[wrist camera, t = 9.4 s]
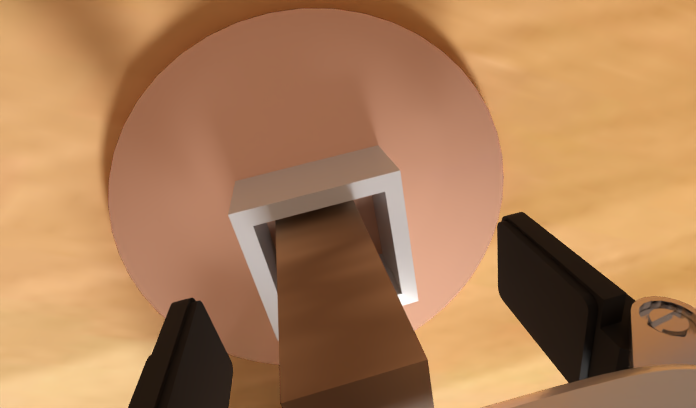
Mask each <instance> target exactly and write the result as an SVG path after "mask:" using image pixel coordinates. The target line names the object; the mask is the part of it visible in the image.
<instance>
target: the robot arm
mask: <svg viewBox="0 0 696 408" xmlns="http://www.w3.org/2000/svg"><path fill="white" fill-rule="evenodd" d="M497 238H498V290H499V294H500V296H501V298H502V300H503V301H504V302H505V304H506V305H507V306H508V307H509V309H510V310H511V311H512V312H513V314H514V315H515V316H516V317H517V319H518V320H519V321H520V322H521V324H522V325H523V326H524V327H525V329H526V330H527V331H528V332H529V334H530V335H531V336H532V337H533V339H534V340H535V341H536V342H537V344H538V345H539V346H540V347H541V349H542V350H543V351H544V352H545V354H546V355H547V356H548V357H549V359H550V360H551V361H552V362H553V364H554V365H555V366H556V367H557V369H558V370H559V371H560V372H561V374H562V375H563V376H564V377H565V379H566V380H567V381H568V382H569V383H568V384H564V385H560V386H556V387H553V388H549V389H545V390H542V391H538V392H535V393H531V394H528V395H524V396H521V397H517V398H514V399H510V400H506V401H503V402H499V403H496V404H492V405H489V406H485V407H482V408H696V309H695V308H694V307H692V306H690V305H688V304H686V303H683V302H681V301H679V300H675V299H671V298H667V297H658V296H651V297H644V298H641V299H638V300H636V301H635V300H634V299H633V298H631V297H630V296H629V295H627V293H626V292H624V291H623V290H622V289H620V288H619V287H618V286H617V285H615V284H614V283H613V282H612V281H610V280H609V279H608V278H606V277H605V276H604V275H603V274H601V273H600V272H599V271H597V270H596V269H595V268H594V267H592V266H591V265H590V264H589V263H587V262H586V261H585V260H583V259H582V258H581V257H580V256H578V255H577V254H576V253H575V252H573V251H572V250H571V249H569V248H568V247H567V246H566V245H564V244H563V243H562V242H561V241H559V240H558V239H557V238H555V237H554V236H553V235H552V234H550V233H549V232H548V231H547V230H545V229H544V228H543V227H541V226H540V225H539V224H538V223H536V222H535V221H534V220H533V219H531V218H530V217H529V216H527V215H526V214H525V213H523V212H519V213H515V214H511V215H507V216H504V217H503V218H502V222H499V223H498V226H497ZM232 376H233V367H232V362H231V360H230V358H229V356H228V354H227V352H226V350H225V348H224V346H223V343H222V341H221V339H220V337H219V335H218V333H217V331H216V329H215V327H214V325H213V323H212V321H211V319H210V317H209V315H208V313H207V311H206V309H205V307H204V305H203V303H202V302H201V301H196V300H195V299H194V298H188V299H184V300H180V301H176V302H173V303H172V304H171V306H170V308H169V311H168V313H167V316H166V319H165V321H164V324H163V326H162V329H161V332H160V334H159V337H158V339H157V342H156V345H155V347H154V350H153V353H152V355H150V356H149V357H148V359H147V361H146V363H145V366H144V368H143V371H142V373H141V376H140V379H139V381H138V384H137V386H136V389H135V391H134V394H133V396H132V399H131V402H130V404H129V407H128V408H228V406H229V399H230V391H231V384H232Z"/></svg>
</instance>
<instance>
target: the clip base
mask: <svg viewBox="0 0 696 408" xmlns="http://www.w3.org/2000/svg"><path fill="white" fill-rule="evenodd" d="M503 179H504V176H503V162H502V153H501V148H500V143H499V139H498V134H497V131H496V128H495V126H494V123H493V120H492V118H491V115H490V112H489V110H488V108H487V106H486V105H485V103H484V101H483V99H482V97H481V96H480V94H479V92H478V90H477V89H476V87H475V86H474V85H473V84H472V82H471V81H470V80H469V78H468V77H467V76H466V75H465V73H464V72H463V71H462V69H461V68H459V67H458V66H457V65H456V64H455V63H454V62H453V61H452V60H451V59H450V58H449V57H448V56H447V55H446V54H445V53H444V52H443V51H441V50H440V49H438V48H437V47H436V46H434V45H433V44H431V43H430V42H428V41H427V40H425V39H424V38H423V37H421V36H420V35H418V34H416V33H414V32H412V31H410V30H408V29H405V28H403V27H401V26H399V25H397V24H395V23H393V22H390V21H387V20H384V19H380V18H377V17H374V16H371V15H368V14H364V13H358V12H352V11H345V10H339V9H311V8H301V9H294V10H287V11H280V12H273V13H267V14H264V15H261V16H257V17H254V18H250V19H247V20H244V21H240V22H237V23H235V24H233V25H231V26H228V27H226V28H224V29H222V30H220V31H218V32H216V33H214V34H211V35H209V36H207V37H206V38H204V39H203V40H201V41H200V42H198V43H197V44H195V45H194V46H192V47H191V48H189V49H188V50H186V51H185V52H183V53H182V54H180V55H179V56H178V57H177V58H176V59H175V60H174V61H173V62H172V63H171V64H169V65H168V66H167V67H166V68H165V69H164V70H163V71H162V72H161V73H160V74H159V75H157V77H156V78H155V79H154V80H153V82H152V83H151V84H150V85H149V87H148V88H147V89H146V90H145V92H144V93H143V94H142V96H141V97H140V98H139V99H138V101H137V103H136V104H135V106H134V108H133V110H132V112H131V113H130V115H129V117H128V119H127V120H126V122H125V124H124V126H123V129H122V131H121V134H120V137H119V140H118V142H117V145H116V148H115V151H114V154H113V160H112V165H111V171H110V176H109V199H108V207H109V214H110V221H111V228H112V233H113V236H114V239H115V242H116V246H117V249H118V252H119V255H120V257H121V259H122V261H123V263H124V265H125V267H126V269H127V271H128V273H129V275H130V277H131V279H132V280H133V281H134V283H135V284H136V286H137V287H138V289H139V290H140V292H141V293H142V295H143V296H144V297H145V298H146V299H147V300H148V301H149V303H150V304H151V305H152V306H153V307H154V308H155V309H156V310H157V311H158V312H159V313H160V314H161V315H162V316H163V317H164V318H166V316H167V313H168V311H169V308H170V306H171V304H172V303H173V302H176V301H180V300H184V299H188V298H194V299H195V300H196V301H201V302H202V303H203V305H204V307H205V309H206V311H207V313H208V315H209V317H210V319H211V321H212V323H213V325H214V327H215V329H216V331H217V333H218V335H219V337H220V339H221V341H222V343H223V346H224V348H225V350H226V352H227V354H229V355H232V356H235V357H239V358H243V359H247V360H251V361H256V362H263V363H270V364H279V333H278V296H277V260H276V223H275V220H278V219H282V218H286V217H290V216H293V215H297V214H301V213H305V212H309V211H313V210H316V209H320V208H324V207H328V206H332V205H336V204H339V203H343V202H347V201H351V200H353V201H354V203H355V205H356V207H357V209H358V211H359V214H360V216H361V218H362V220H363V222H364V224H365V226H366V229H367V231H368V233H369V235H370V237H371V239H372V242H373V244H374V246H375V248H376V250H377V252H378V254H379V257H380V259H381V261H382V263H383V265H384V267H385V269H386V272H387V274H388V276H389V278H390V280H391V282H392V284H393V287H394V289H395V291H396V293H397V295H398V297H399V299H400V302H401V304H402V306H403V308H404V310H405V312H406V315H407V317H408V319H409V321H410V323H411V325H412V327H413V330H414V331H415V330H416V329H418V328H419V327H420V326H422V325H423V324H425V323H426V322H428V321H429V320H430V319H432V318H433V317H434V316H435V315H436V314H437V313H439V312H440V311H441V310H442V309H443V308H444V307H446V306H447V304H448V303H449V302H450V301H451V300H452V299H453V298H454V297H455V296H456V295H457V294H458V293H459V292H460V291H461V289H462V288H463V287H464V285H465V284H466V283H467V282H468V280H469V279H470V278H471V276H472V275H473V273H474V272H475V270H476V268H477V267H478V265H479V264H480V262H481V260H482V259H483V257H484V255H485V252H486V250H487V248H488V246H489V244H490V242H491V240H492V237H493V234H494V231H495V227H496V224H497V221H498V218H499V213H500V207H501V202H502V194H503Z"/></svg>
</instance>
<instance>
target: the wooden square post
mask: <svg viewBox="0 0 696 408" xmlns="http://www.w3.org/2000/svg"><path fill="white" fill-rule="evenodd" d="M275 223H276V260H277V296H278V333H279V370H280V404H281V406H282V408H434V404H433V397H432V389H431V382H430V374H429V367H428V360H427V357H426V355H425V353H424V351H423V349H422V347H421V345H420V342H419V340H418V338H417V336H416V334H415V332H414V330H413V327H412V325H411V323H410V321H409V319H408V317H407V315H406V312H405V310H404V308H403V306H402V304H401V302H400V299H399V297H398V295H397V293H396V291H395V289H394V287H393V284H392V282H391V280H390V278H389V276H388V274H387V272H386V269H385V267H384V265H383V263H382V261H381V259H380V257H379V254H378V252H377V250H376V248H375V246H374V244H373V242H372V239H371V237H370V235H369V233H368V231H367V229H366V226H365V224H364V222H363V220H362V218H361V216H360V214H359V211H358V209H357V207H356V205H355V203H354V201H353V200H351V201H347V202H343V203H339V204H336V205H332V206H328V207H324V208H320V209H316V210H313V211H309V212H305V213H301V214H297V215H293V216H290V217H286V218H282V219H278V220H275Z"/></svg>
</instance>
